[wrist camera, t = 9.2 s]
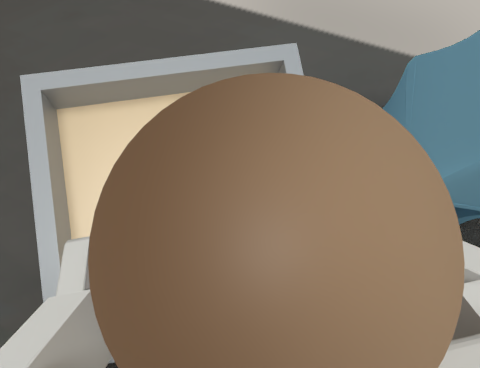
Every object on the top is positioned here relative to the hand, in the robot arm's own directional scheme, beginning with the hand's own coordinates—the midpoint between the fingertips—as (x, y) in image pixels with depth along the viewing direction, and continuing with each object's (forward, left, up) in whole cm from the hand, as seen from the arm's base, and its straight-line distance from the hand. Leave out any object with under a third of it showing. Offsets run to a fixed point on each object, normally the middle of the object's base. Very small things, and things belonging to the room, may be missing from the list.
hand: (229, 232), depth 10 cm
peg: (0, +1, -6) cm, 6 cm away
